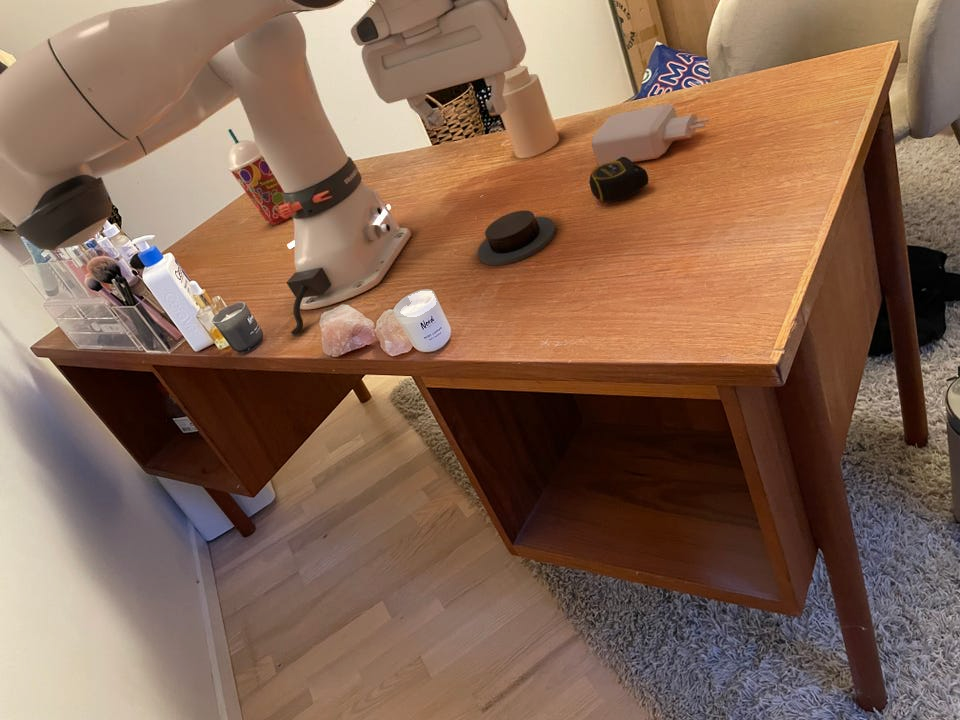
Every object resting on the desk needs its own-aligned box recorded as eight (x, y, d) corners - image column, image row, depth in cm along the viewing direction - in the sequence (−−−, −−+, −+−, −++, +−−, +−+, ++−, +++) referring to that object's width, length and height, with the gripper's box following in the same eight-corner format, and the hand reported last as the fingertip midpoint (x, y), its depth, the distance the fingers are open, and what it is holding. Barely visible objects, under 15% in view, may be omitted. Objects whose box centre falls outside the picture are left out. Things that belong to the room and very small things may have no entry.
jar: (559, 147, 114) (533, 70, 107) (514, 163, 116) (486, 89, 109) (559, 131, 120) (534, 57, 113) (516, 146, 123) (490, 75, 116)
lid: (515, 223, 96) (509, 208, 94) (550, 227, 90) (544, 212, 89) (481, 250, 93) (474, 236, 92) (514, 256, 88) (508, 241, 86)
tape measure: (653, 191, 88) (646, 164, 86) (604, 213, 89) (596, 187, 87) (634, 176, 94) (627, 150, 92) (588, 196, 94) (580, 172, 92)
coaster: (556, 249, 86) (554, 245, 86) (475, 274, 89) (474, 270, 89) (556, 211, 95) (554, 207, 95) (483, 235, 98) (481, 232, 98)
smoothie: (291, 222, 140) (236, 130, 129) (259, 232, 143) (202, 144, 132) (306, 203, 146) (255, 115, 136) (275, 214, 149) (222, 128, 139)
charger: (700, 155, 91) (599, 170, 100) (719, 124, 97) (621, 140, 106) (692, 121, 89) (589, 140, 98) (712, 91, 94) (613, 111, 103)
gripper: (510, -38, 71) (552, 91, 78) (370, 16, 83) (418, 124, 91) (482, -18, 67) (529, 115, 75) (340, 35, 79) (392, 146, 87)
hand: (467, 120), depth 83 cm, fingers open, 8 cm apart
